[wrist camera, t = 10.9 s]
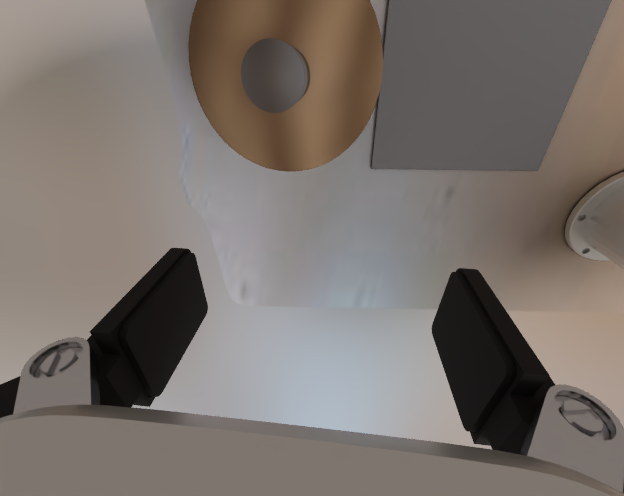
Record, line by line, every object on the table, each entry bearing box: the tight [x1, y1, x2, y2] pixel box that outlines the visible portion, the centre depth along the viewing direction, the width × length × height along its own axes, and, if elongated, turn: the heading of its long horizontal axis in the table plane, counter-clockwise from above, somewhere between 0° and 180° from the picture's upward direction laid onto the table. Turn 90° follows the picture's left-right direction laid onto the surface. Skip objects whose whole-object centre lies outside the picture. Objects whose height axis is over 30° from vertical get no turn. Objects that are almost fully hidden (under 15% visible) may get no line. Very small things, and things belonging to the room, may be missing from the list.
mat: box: [371, 0, 611, 171], centre depth 28 cm, size 19×19×1 cm
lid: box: [189, 0, 383, 171], centre depth 20 cm, size 15×15×6 cm
